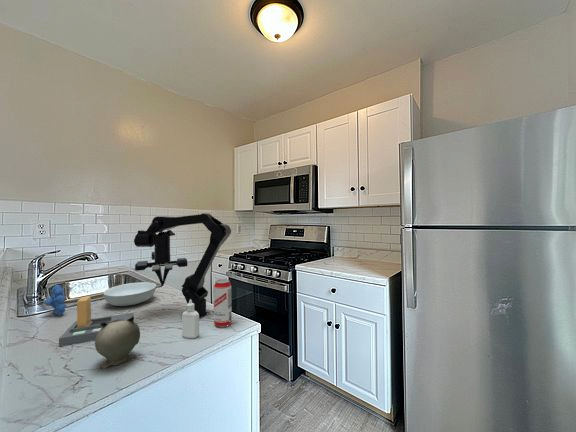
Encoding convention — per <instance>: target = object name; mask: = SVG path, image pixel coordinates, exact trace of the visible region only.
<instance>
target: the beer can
mask: <svg viewBox="0 0 576 432" xmlns="http://www.w3.org/2000/svg"><path fill="white" fill-rule="evenodd" d="M232 311H233V310H232V284H231V282H230V279H227V278H226V279H223V278H222V279H217V280H215V283H214V285H213V324H214V325H215V327H217V326H218V327H217V328H225V327H224V326H227V325H229V324H230V325H231V324H232V321H233V320H232V317H233V315H232V313H233V312H232ZM230 325H229V326H230ZM227 327H228V326H227Z"/></svg>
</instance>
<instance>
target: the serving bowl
mask: <svg viewBox="0 0 576 432" xmlns="http://www.w3.org/2000/svg"><path fill="white" fill-rule="evenodd" d="M156 288H157V284H156V283H153V282H148V281H147V282H145V281H143V282H142V281H140V282H129V283H124V284H119V285H115V286H113V287H109V288H107V289H106V290H104V291H103V293H102V294H103V298H104V301H106V302H107V303H108V304H109V305H112V306H117V307H129V306H135V305H137V304H138V305H139V304H141V303H144V302H146V301H148V300H149V299H151V298H152V297H153V296H154V294H155V292H156V290H157V289H156Z"/></svg>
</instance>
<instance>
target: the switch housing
mask: <svg viewBox="0 0 576 432" xmlns="http://www.w3.org/2000/svg"><path fill="white" fill-rule="evenodd" d="M134 315H135V312H129V313H123V314H122V313H121V314H117V315H110V316H102V317H94V318H91V321H93V323H92V324H91V325H90V326H86V327H79V328H76V327H77V320H75V321H74V322H72V324H71V325H70V326H69V327H68V328H67V329H66V330H65V332H63V333H62V335H61V336H60V337H59V338H58V347H65V346H70V345H74V344H81V343H86V342H92V341H95V339H96V336H97V334H98V332H99V331H100V329H101V328H102V327H103V326H101V325H100V323H103V322H104V323H107V324H108V323H110V322H112V321H115V320H118V319H123V320H127V319H129V318H132V317H134V318H135V316H134Z"/></svg>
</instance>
